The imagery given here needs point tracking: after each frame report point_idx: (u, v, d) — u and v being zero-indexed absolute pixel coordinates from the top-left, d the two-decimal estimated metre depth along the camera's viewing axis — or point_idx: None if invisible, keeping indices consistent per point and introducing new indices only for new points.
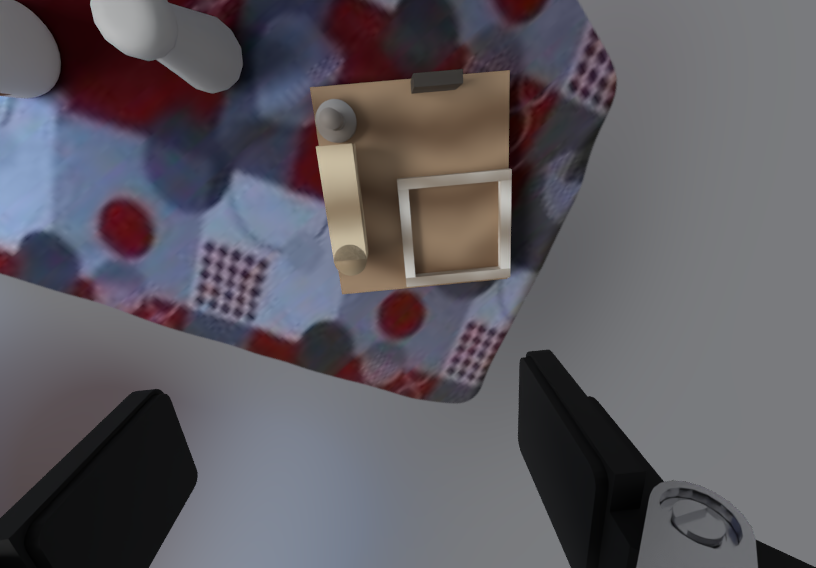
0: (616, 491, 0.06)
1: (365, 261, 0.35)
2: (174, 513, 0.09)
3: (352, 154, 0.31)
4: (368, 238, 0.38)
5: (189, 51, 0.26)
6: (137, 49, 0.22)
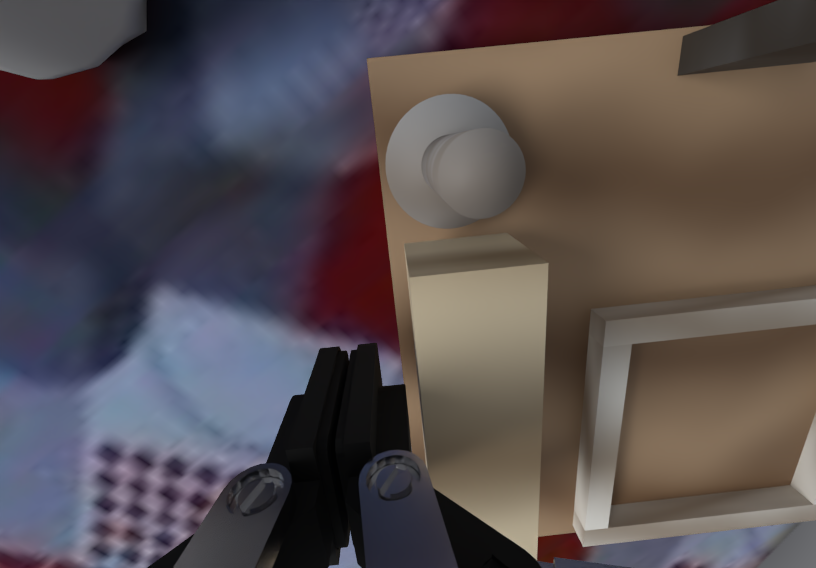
0: (350, 459, 0.07)
1: None
2: None
3: (543, 299, 0.08)
4: None
5: None
6: None
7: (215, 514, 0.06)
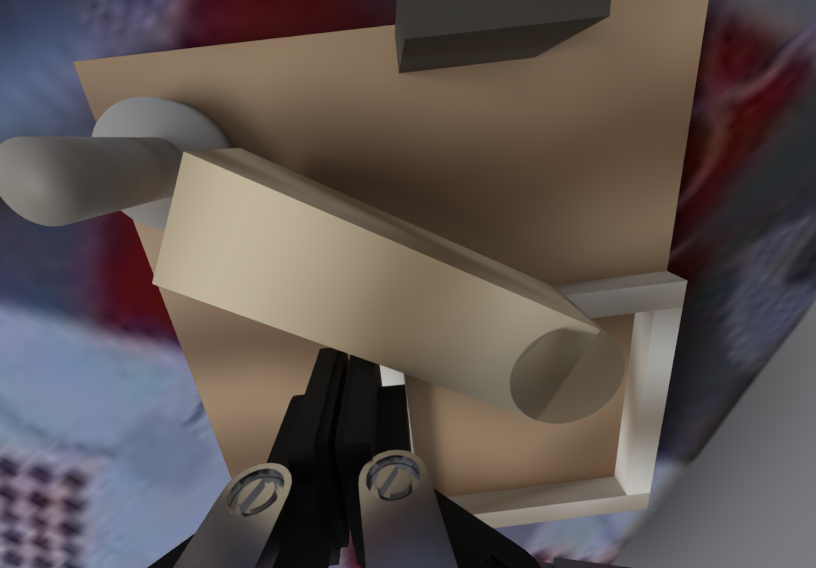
0: (350, 459, 0.07)
1: (605, 337, 0.09)
2: None
3: (227, 174, 0.07)
4: None
5: None
6: None
7: (215, 514, 0.06)
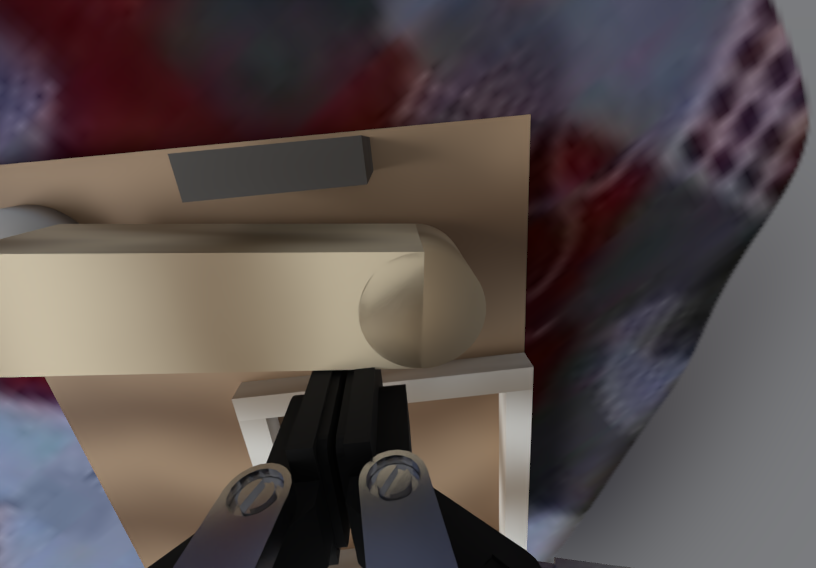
0: (351, 459, 0.07)
1: (435, 257, 0.08)
2: None
3: None
4: (194, 498, 0.16)
5: None
6: None
7: (215, 514, 0.06)
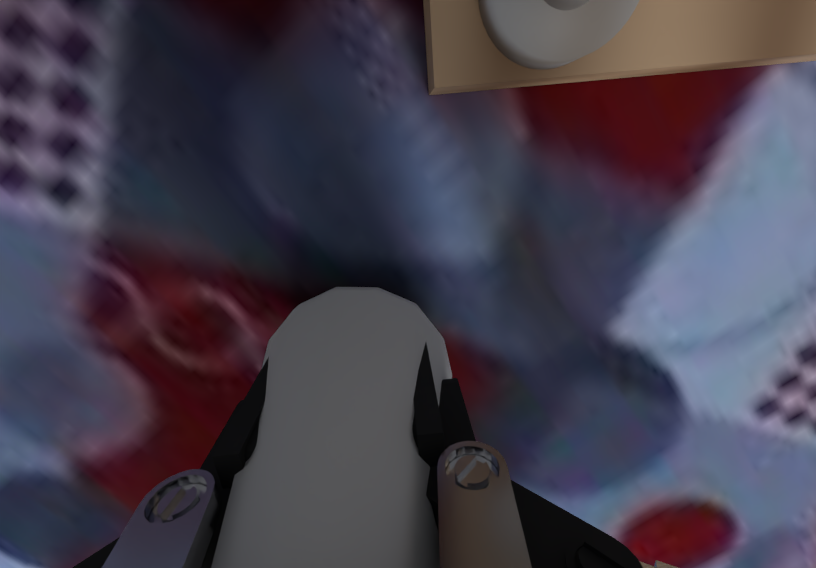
0: (422, 450, 0.07)
1: None
2: None
3: None
4: None
5: (396, 528, 0.06)
6: None
7: (133, 527, 0.06)
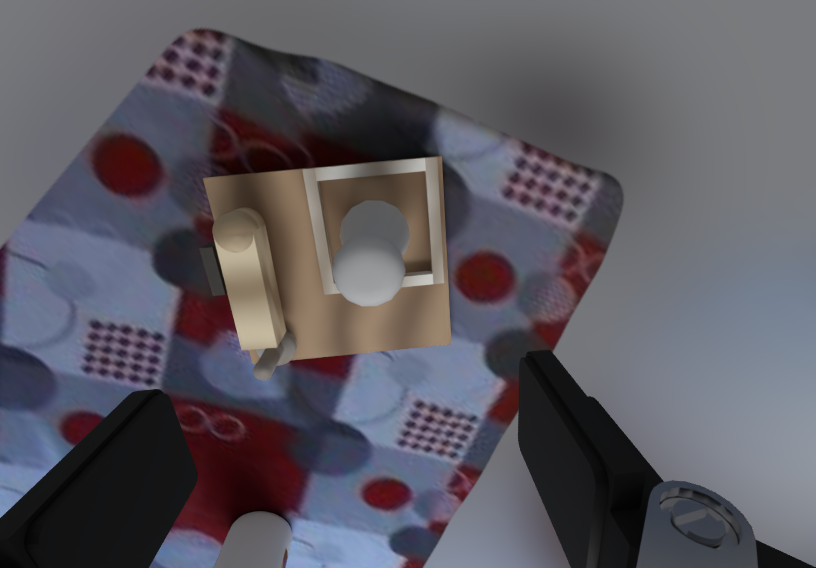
0: (616, 491, 0.06)
1: (214, 231, 0.28)
2: (174, 513, 0.09)
3: (240, 341, 0.32)
4: (390, 318, 0.36)
5: (387, 234, 0.25)
6: (399, 270, 0.21)
7: None
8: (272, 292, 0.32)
